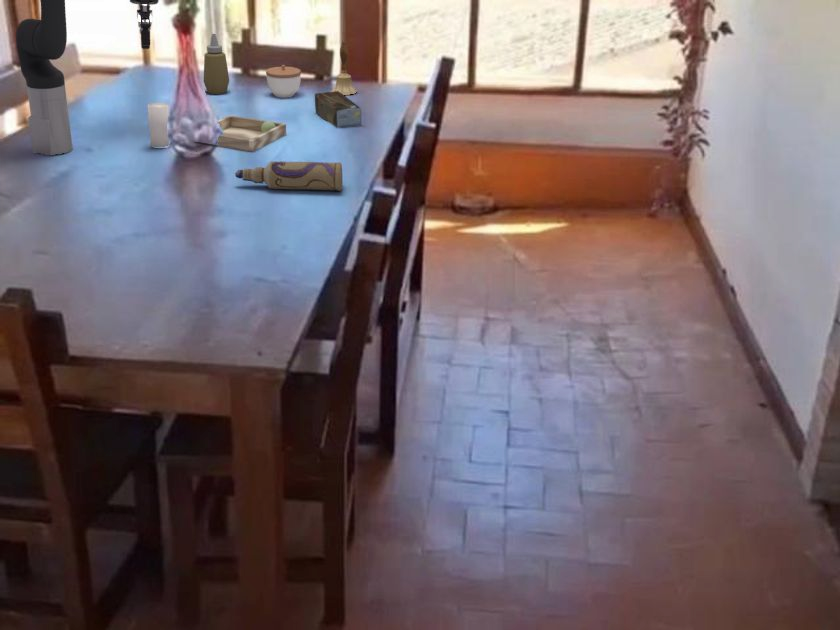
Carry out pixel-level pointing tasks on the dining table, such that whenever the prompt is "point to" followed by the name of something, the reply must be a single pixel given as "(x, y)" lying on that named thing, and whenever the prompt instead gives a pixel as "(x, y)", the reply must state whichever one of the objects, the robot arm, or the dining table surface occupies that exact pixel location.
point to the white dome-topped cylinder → (158, 123)
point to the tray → (247, 133)
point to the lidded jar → (283, 81)
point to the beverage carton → (337, 109)
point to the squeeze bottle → (215, 68)
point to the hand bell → (344, 74)
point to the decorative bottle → (296, 175)
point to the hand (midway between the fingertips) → (145, 47)
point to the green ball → (267, 126)
